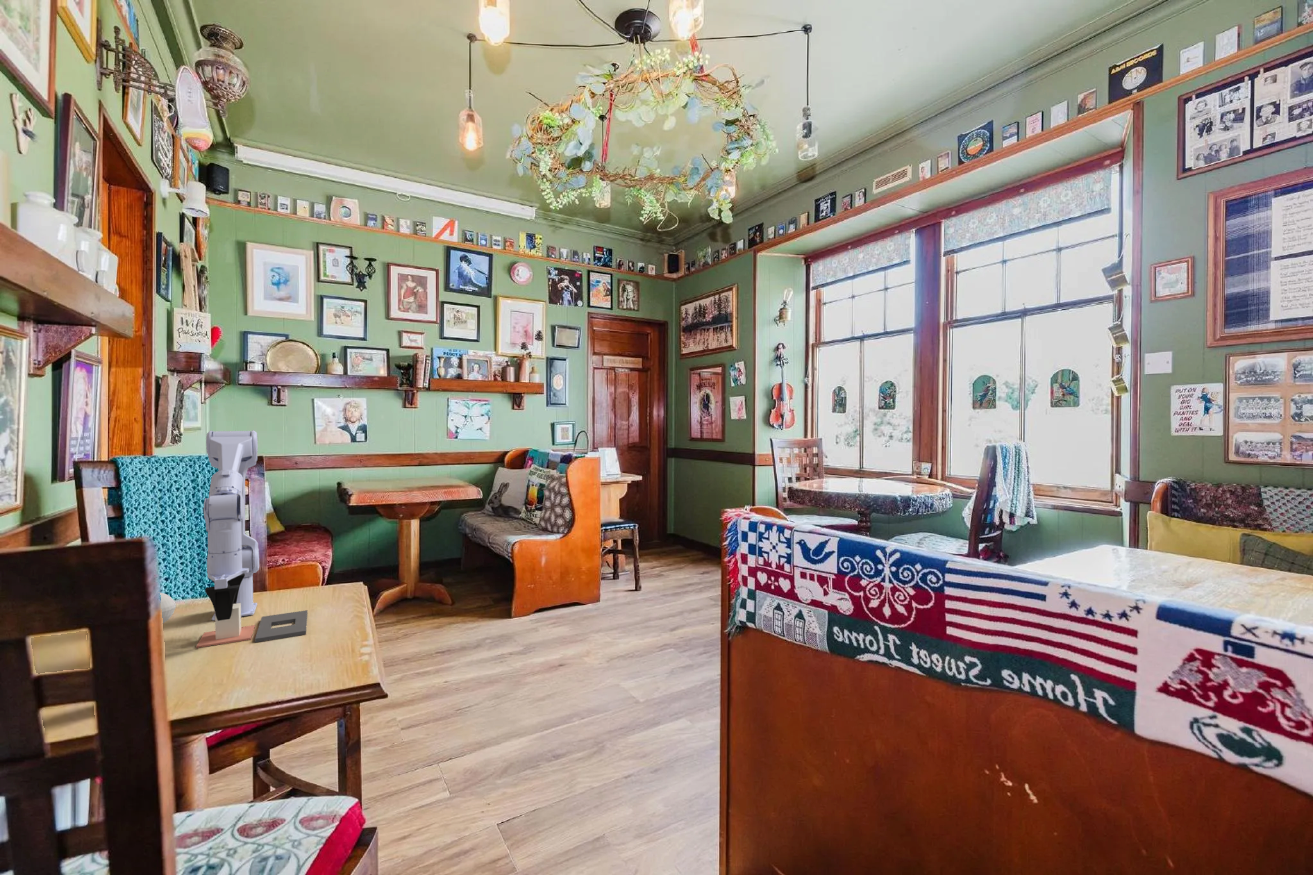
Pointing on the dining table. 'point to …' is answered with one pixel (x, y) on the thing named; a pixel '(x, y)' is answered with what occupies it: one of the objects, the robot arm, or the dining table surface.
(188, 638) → the dining table surface
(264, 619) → the board
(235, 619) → the plug
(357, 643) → the dining table surface
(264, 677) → the dining table surface
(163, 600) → the lollipop
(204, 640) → the mat
